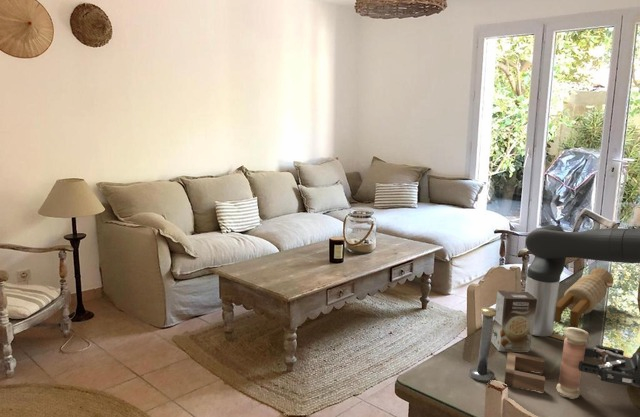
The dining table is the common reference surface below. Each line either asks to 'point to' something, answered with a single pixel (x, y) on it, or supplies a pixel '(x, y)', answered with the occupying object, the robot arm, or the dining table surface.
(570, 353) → the thread spool
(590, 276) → the decorative spool
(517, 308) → the coffee box
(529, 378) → the notched board
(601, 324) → the dining table surface
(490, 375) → the post
